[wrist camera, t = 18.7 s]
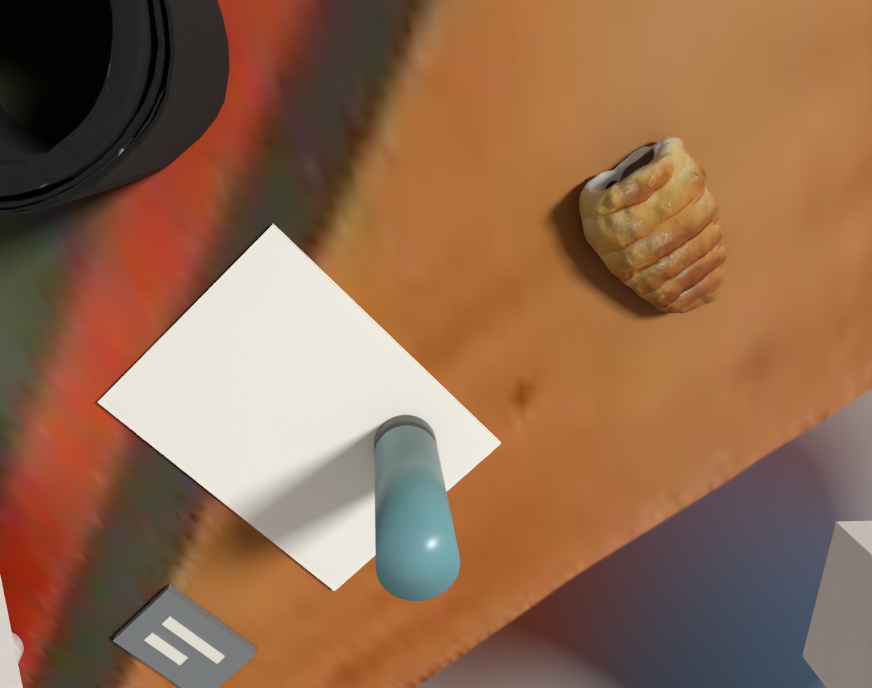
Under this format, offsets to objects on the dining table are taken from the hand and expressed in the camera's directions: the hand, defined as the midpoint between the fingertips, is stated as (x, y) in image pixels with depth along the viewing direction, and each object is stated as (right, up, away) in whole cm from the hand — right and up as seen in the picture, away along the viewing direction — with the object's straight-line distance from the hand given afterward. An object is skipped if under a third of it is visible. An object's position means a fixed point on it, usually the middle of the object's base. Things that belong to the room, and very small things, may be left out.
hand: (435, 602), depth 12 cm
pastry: (+12, +11, +29) cm, 33 cm away
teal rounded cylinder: (-2, -2, +31) cm, 31 cm away
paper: (-7, 0, +30) cm, 31 cm away
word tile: (-16, -15, +34) cm, 40 cm away
